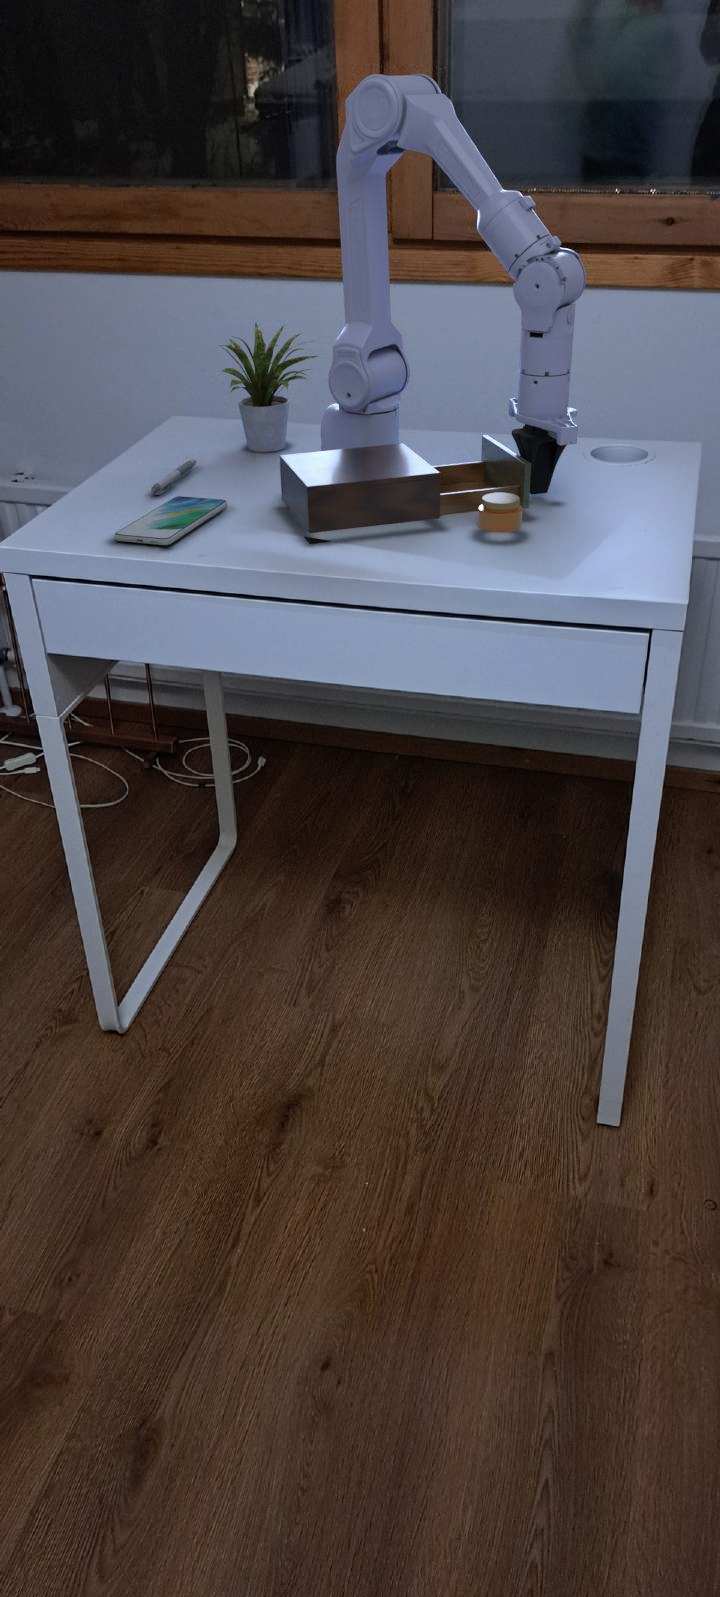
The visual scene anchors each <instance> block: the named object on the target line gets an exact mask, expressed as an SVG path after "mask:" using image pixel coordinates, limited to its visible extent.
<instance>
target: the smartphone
mask: <svg viewBox="0 0 720 1597" xmlns="http://www.w3.org/2000/svg"><path fill="white" fill-rule="evenodd" d="M227 507H228V501H227V500H226V499H221V498H220V499H219V498H208V497H207V498H206V497H194V496H182V495H181V496H179V495H178V496H174V497H172V498H171V499H169V500H168V501H166V502H164V503H163V504H161V505H159V506H158V507H156V508H154V509H153V510H151V511H149V512H148V513H146V514H144V515H142V516H141V517H139V518H138V519H136V520H134V521H133V522H131V523H129V524H128V525H127V526H125V527H123V528H121V529H120V530H118V531H116V532H115V533H114V536H113V537H114V540H115V541H117V542H125V543H135V544H147V545H158V546H170V545H171V544H173V543H174V542H176V541H178V540H179V539H181V538H182V537H184V536H185V535H187V534H188V533H190V532H191V531H193V530H194V529H196V528H197V527H198V526H201V525H202V524H203V523H204V522H206V521H207V520H209V519H211V518H213V517H214V516H216V515H217V514H219V513H221V512H222V511H223V510H225V509H226V508H227Z"/></svg>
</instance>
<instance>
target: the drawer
mask: <svg viewBox="0 0 720 1597" xmlns="http://www.w3.org/2000/svg"><path fill="white" fill-rule="evenodd" d="M480 458H481V459H480V461H479V460H478V461H469V462H459V463H450V464H449V463H448V464H441V465H431V466H432V467H434V468H435V469H436V470H437V471H439V472H440V473H441V476H440V478H441V480H440V516H447V515H457V514H464V513H474V512H478V508H479V506H480V505H481V504H482V497H483V496H484V495H486V494H490V493H498V492H502V493H511V494H514V495H517V496H518V497H519V498H520V504H519V505H520V506H522V510H525V509H526V510H527V509H529V508H530V507H529V506H530V476H531V463H530V462H528V461H527V460H525V459H524V458H522V457H521V456H520V454H517V453H516V452H514V451H513V450H512V449H510V448H508V447H507V446H505V445H504V444H502V443H500V442H499V441H497V440H496V439H495V438H493V437H491V436H490V435H488V434H483V435H481V456H480Z"/></svg>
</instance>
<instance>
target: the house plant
mask: <svg viewBox="0 0 720 1597" xmlns="http://www.w3.org/2000/svg"><path fill="white" fill-rule="evenodd" d="M284 327H285V325H282V326H281V327H280V328H279V330H278V331H277V332H276V333H275V334H274V335H273V338H272V339H271V341H270V343H269V344H268V346H267V345H266V342H265V339H264V338H263V332H262V331H261V329H259V325H258V324H257V322H255V324H254V345H253V353H252V350H251V348H250V347H249V345H248V343H247V342H246V341H245V340H244V339H242V338H240V337H237V336H234V338H235V339H238V340H240V341H241V342H242V343H243V344H244V345H245V347H246V349H247V350H248V353H249V355H250V357H251V360H252V363H253V366H252V363H251V361H250V358H249V357H248V354H247V353H246V352H245V351H244V349H243V348H242V347H241V346H240V345H239V344H238V343H237V342H236V341H235V340H233V339H231V338H232V336H230V337H231V338H228V340H229V342H230V343H229V342H228V341H226V340H225V343H226V344H222V345H219V347H221V348H222V350H224V351H225V352H226V353H228V354H229V356H230V357H231V358H232V359H233V360H234V361H235V363H236V364H237V365H238V366H239V368H240V370H242V372H243V373H241V372H240V371H239V370H237V369H235V368H233V367H232V368H231V367H227V368H224V369H222V370H221V372H224V373H227V374H229V375H232V376H234V377H235V378H237V379H231V381H230V385H229V388H231V391H230V393H232V392H234V391H235V390H238V389H244V390H245V391H246V392H247V393H248V394H249V396H247V397H243V398H241V399H240V400H238V402H237V404H238V409H239V414H240V418H241V423H242V427H243V431H244V436H245V440H246V445H247V449H248V450H249V451H252V452H259V453H260V452H261V453H271V452H277V451H281V450H283V449H284V448H285V447H286V439H287V431H288V419H289V410H290V402H291V401H290V399H289V398H288V397H285V396H283V395H282V396H281V395H278V394H279V393H280V392H281V391H282V390H283V389H284V388H285V389H286V390H287V391H289V382H290V381H293V380H298V379H299V380H301V379H303V380H307V381H309V382H310V379H308V378H306V377H308V375H307V374H306V373H304V371H311V370H313V369H309V368H307V369H301V370H291V371H288V372H287V371H286V372H285V373H284V374H283V372H284V371H285V370H286V369H287V368H289V367H291V366H293V365H295V364H297V363H300V362H302V361H306V360H310V359H316V358H317V357H319V355H305V356H297V357H294V358H293V357H292V358H290V359H287V358H288V357H289V356H290V355H291V354H292V353H294V352H295V351H300V350H303V348H295V347H297V346H300V345H303V344H307V343H313V342H314V340H313V341H312V340H311V341H310V340H309V341H305V342H304V341H303V342H300V343H298V344H295V345H292V346H291V344H292V343H293V342H294V340H296V338H298V337H299V336H300V335H302V334H303V332H302V333H301V332H300V333H297V334H295V335H293V336H292V337H291V338H289V339H288V340H287V341H286V342H285V343H283V346H282V347H281V348H280V349H279V351H278V352H277V353H276V355H275V356H273V355H274V350H275V347H279V344H277V342H278V339H279V337H280V335H281V333H282V332H283V330H284ZM224 347H226V348H228V349H229V350H231V351H232V352H233V353H234V354H235V356H236V357H237V358H238V359H239V361H240V363H241V364H240V363H239V361H238V360H237V359H236V358H235V357H234V356H233V355H232V354H231V352H230V351H229V350H228V349H226V348H224ZM266 347H267V349H266ZM293 348H295V349H293ZM291 349H292V350H291ZM290 350H291V351H290ZM289 351H290V352H289ZM288 352H289V353H288ZM286 353H288V354H287V355H286V356H285V354H286ZM284 356H285V358H284V359H283V357H284ZM272 359H273V360H272ZM282 359H283V361H282V362H281V360H282ZM286 359H287V360H286ZM280 362H281V363H280ZM243 374H244V375H245V376H244V375H243ZM292 374H294V375H292ZM298 374H301V375H298ZM290 375H292V376H290ZM303 375H305V376H306V377H304V376H303ZM287 376H289V377H287ZM286 377H287V378H286ZM238 379H239V380H238ZM240 384H242V385H243V386H242V387H241V386H237V385H240ZM281 386H282V387H281ZM280 387H281V388H280ZM279 388H280V390H279ZM278 390H279V391H278ZM277 391H278V392H277ZM276 392H277V394H276ZM230 393H229V394H230ZM275 394H276V395H275Z"/></svg>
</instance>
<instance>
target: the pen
mask: <svg viewBox="0 0 720 1597" xmlns="http://www.w3.org/2000/svg"><path fill="white" fill-rule="evenodd" d="M196 464H197V459H195V458H193V459H189V460H187V461H185V462H184V463H183V464H181V465H180V466H178V467H176V468H175V469H174V470H172V472H171V473H169V474H168V475H166V476H164V477H163V478H162V479H160V480H159V481H157V482H156V483H155V484H154V485H152V486H151V489H150V491H151V493H153V495H162V494H164V493H166V492H167V491H168V490H169V489H170V488H171V486H172V483H173V482H174V481H175V480H177V479H179V478H180V477H182V476H183V475H184V474H185V473H187V472H188V471H190V470H191V469H193V467H194V466H195V465H196Z"/></svg>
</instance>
